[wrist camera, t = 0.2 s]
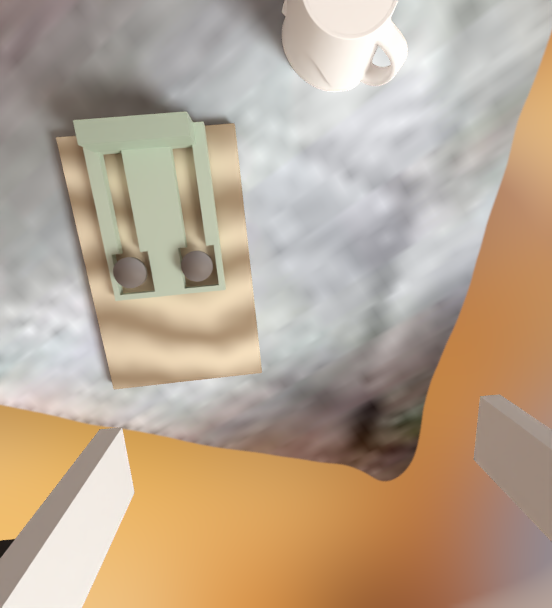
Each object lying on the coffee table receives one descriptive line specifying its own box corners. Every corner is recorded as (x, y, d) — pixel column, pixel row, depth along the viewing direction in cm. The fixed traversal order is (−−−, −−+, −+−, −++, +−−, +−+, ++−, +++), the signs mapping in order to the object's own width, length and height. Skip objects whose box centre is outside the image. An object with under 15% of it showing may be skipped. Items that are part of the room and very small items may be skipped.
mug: (268, -18, 24) (332, -127, 22) (264, 51, 33) (310, -24, 32) (390, 90, 26) (455, -4, 25) (355, 126, 35) (401, 59, 34)
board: (62, 140, 33) (39, 129, 30) (235, 126, 34) (232, 114, 31) (117, 384, 40) (104, 400, 36) (261, 368, 41) (262, 382, 37)
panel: (84, 134, 32) (61, 121, 28) (204, 124, 33) (197, 110, 29) (119, 299, 36) (102, 307, 32) (225, 288, 36) (222, 295, 33)
